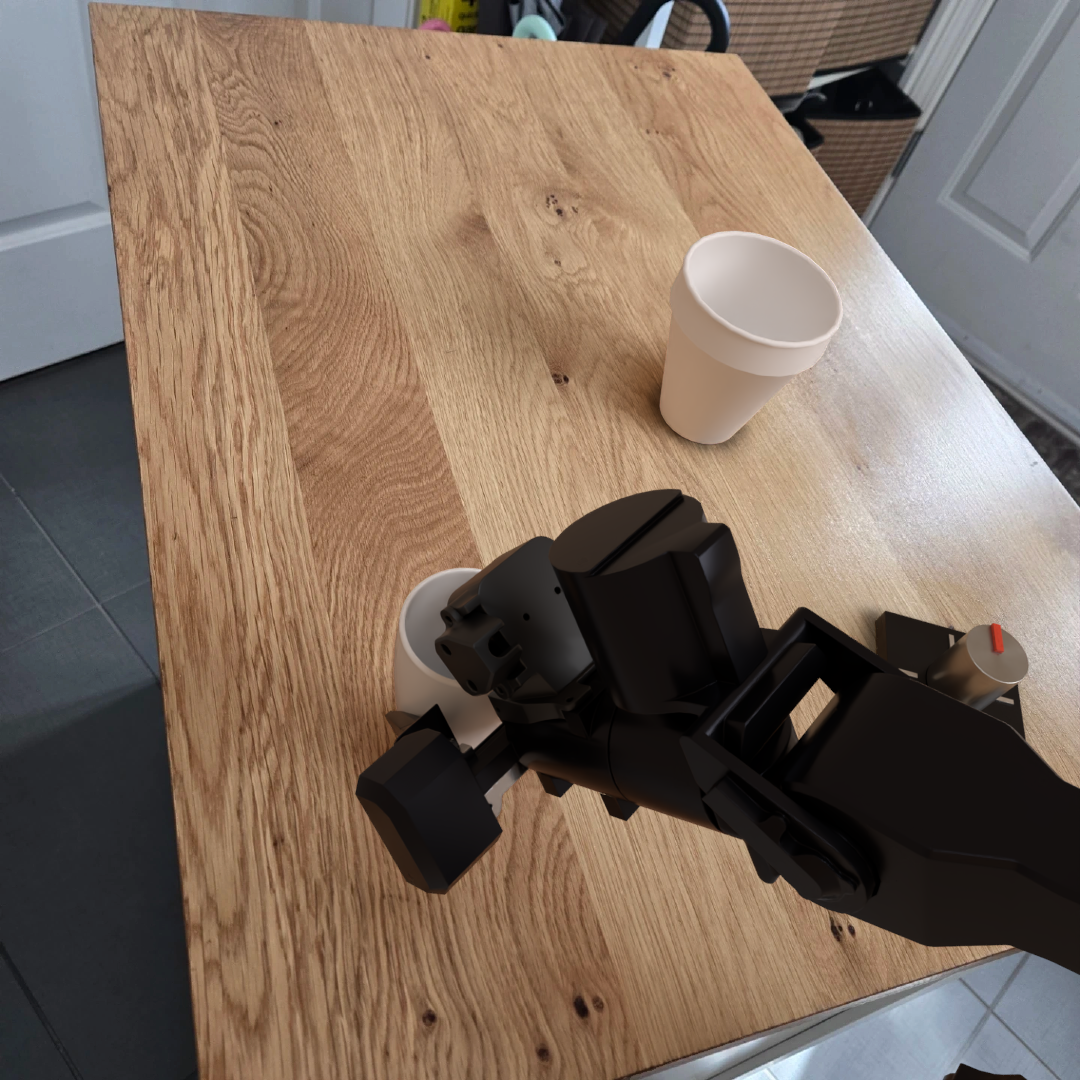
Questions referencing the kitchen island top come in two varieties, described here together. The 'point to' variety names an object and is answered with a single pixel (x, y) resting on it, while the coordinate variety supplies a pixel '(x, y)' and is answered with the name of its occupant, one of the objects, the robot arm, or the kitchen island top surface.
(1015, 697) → the hob panel
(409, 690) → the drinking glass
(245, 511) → the kitchen island top surface
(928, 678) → the hob knob
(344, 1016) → the kitchen island top surface
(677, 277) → the cup
